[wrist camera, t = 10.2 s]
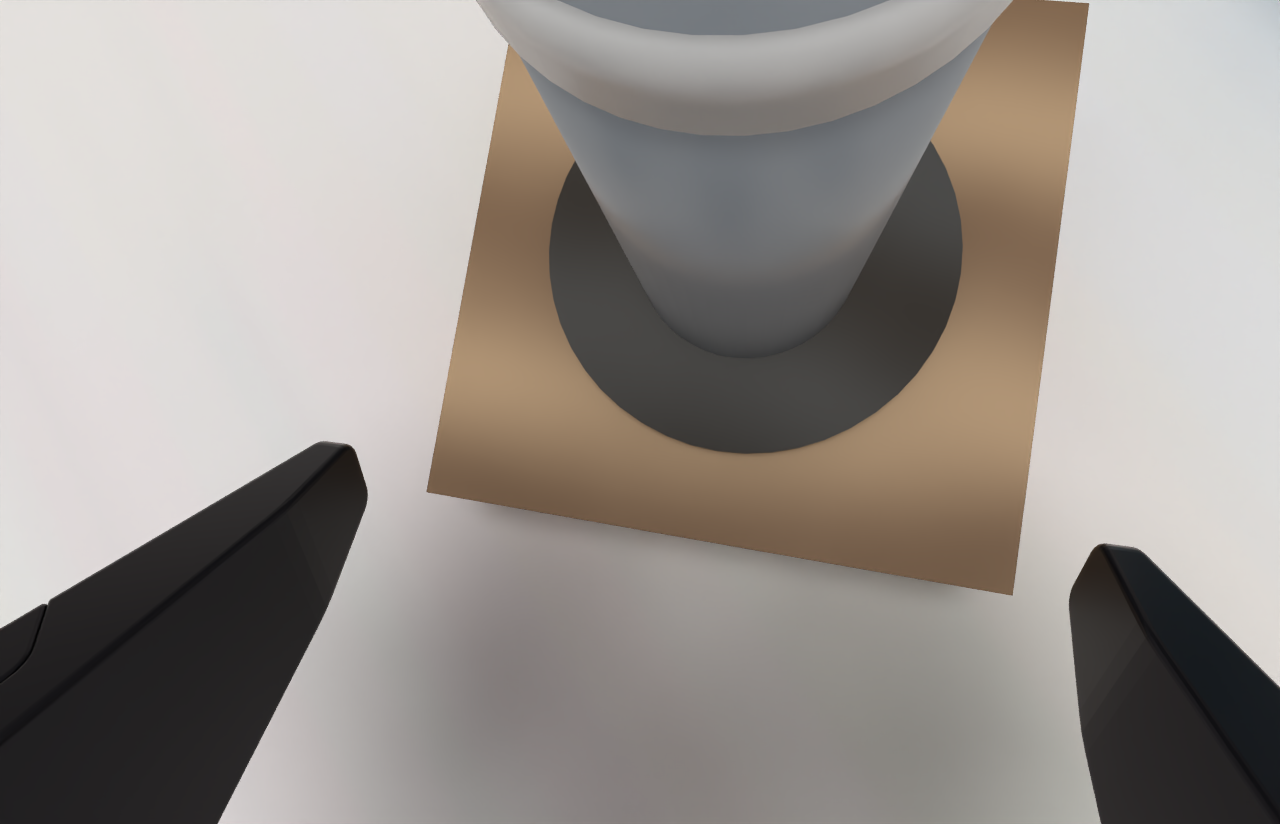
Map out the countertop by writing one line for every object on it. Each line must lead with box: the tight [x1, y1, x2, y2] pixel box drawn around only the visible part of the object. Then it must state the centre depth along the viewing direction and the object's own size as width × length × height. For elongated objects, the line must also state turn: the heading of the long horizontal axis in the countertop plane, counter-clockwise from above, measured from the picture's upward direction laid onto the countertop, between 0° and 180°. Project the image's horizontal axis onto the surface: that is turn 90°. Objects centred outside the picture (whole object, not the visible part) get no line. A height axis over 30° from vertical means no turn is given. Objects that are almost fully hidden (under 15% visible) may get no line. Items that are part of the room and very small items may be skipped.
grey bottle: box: [476, 0, 1013, 358], centre depth 11 cm, size 5×5×13 cm
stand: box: [427, 0, 1089, 596], centre depth 20 cm, size 13×13×4 cm
